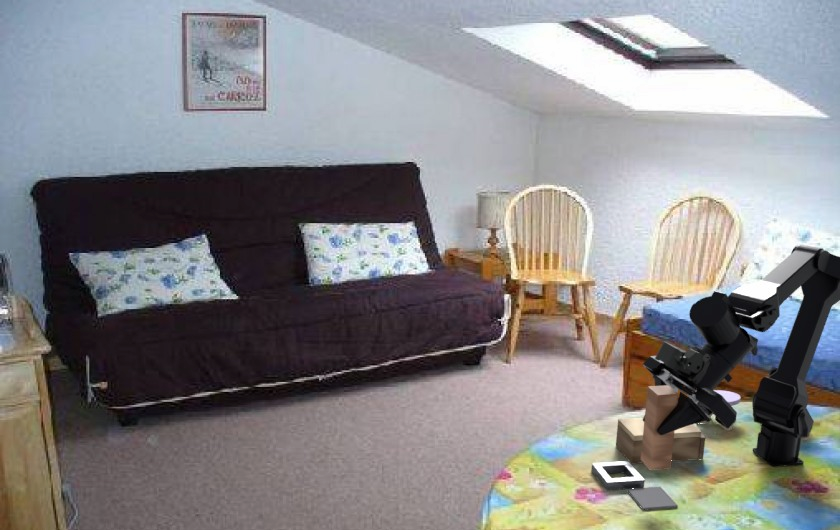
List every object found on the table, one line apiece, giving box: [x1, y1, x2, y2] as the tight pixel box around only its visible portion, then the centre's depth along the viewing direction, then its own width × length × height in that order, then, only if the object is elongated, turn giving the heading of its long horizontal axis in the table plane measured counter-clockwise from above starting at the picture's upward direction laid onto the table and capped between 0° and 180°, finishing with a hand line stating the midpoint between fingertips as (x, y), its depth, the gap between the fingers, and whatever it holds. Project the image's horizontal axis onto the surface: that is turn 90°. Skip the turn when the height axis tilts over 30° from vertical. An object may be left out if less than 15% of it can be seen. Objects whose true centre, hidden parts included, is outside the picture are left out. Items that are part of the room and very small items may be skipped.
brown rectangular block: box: [641, 385, 680, 471], centre depth 126 cm, size 4×4×13 cm
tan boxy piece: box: [615, 424, 706, 465], centre depth 145 cm, size 14×7×4 cm, turn 100°
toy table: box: [699, 389, 741, 432], centre depth 159 cm, size 10×9×6 cm
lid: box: [617, 417, 702, 441], centre depth 144 cm, size 13×7×3 cm, turn 100°
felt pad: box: [626, 486, 679, 511], centre depth 129 cm, size 6×6×1 cm
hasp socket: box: [591, 460, 646, 491], centre depth 135 cm, size 7×7×2 cm
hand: (651, 427), depth 126 cm, fingers closed on brown rectangular block, 4 cm apart
